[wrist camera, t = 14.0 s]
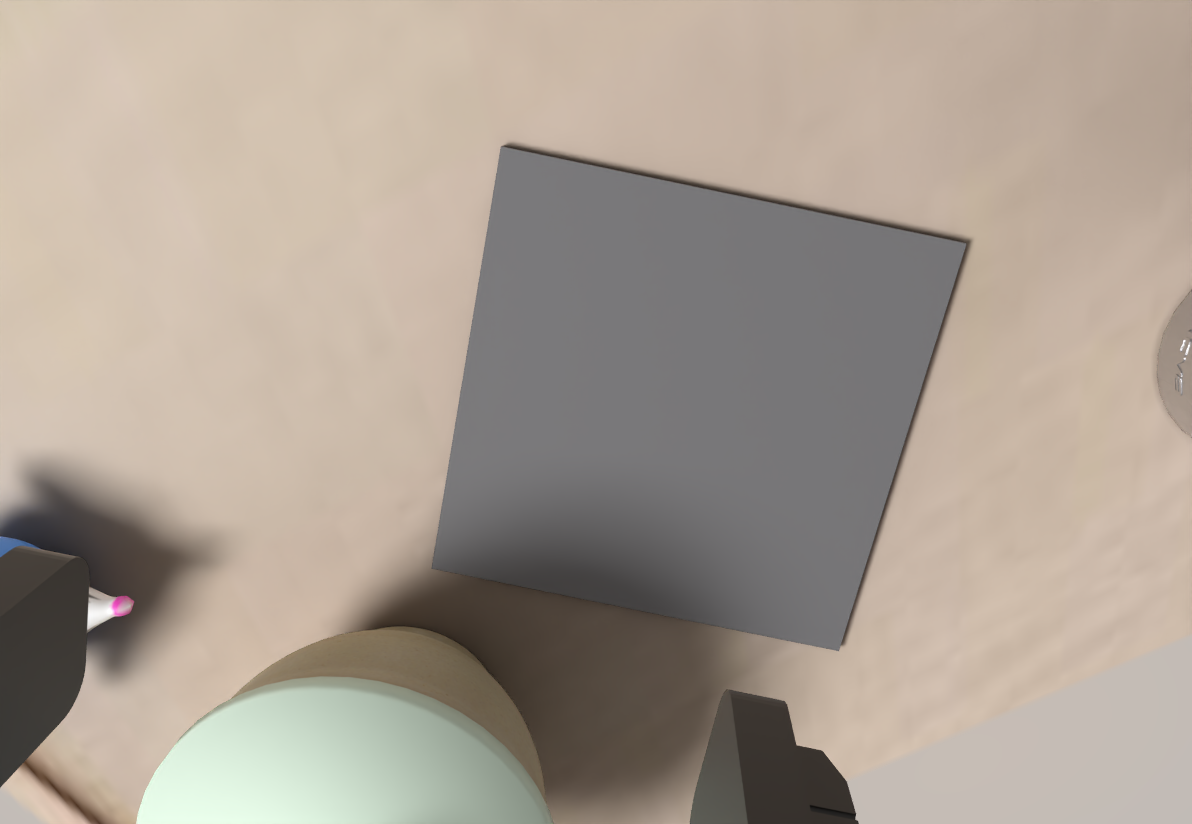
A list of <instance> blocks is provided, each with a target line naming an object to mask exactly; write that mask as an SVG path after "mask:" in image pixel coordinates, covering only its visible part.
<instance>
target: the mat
mask: <svg viewBox="0 0 1192 824" xmlns="http://www.w3.org/2000/svg"><path fill="white" fill-rule="evenodd" d="M965 247H966V243H964V242H960V241H955V240H950V239H946V238H941V237H936V236H931V235H926V234H922V233H917V232H912V231H907V230H902V229H898V228H893V227H888V226H883V225H878V224H874V223H869V222H864V221H859V220H854V219H850V218H845V217H840V216H835V215H830V214H826V213H821V212H816V211H811V210H807V209H802V208H797V207H792V206H787V205H783V204H778V203H773V202H768V201H763V200H759V199H754V198H749V197H744V196H739V195H735V194H730V193H725V192H720V191H715V190H711V189H706V188H701V187H696V186H691V185H687V184H682V183H677V182H672V181H667V180H663V179H658V178H653V177H648V176H643V175H639V174H634V173H629V172H624V171H619V170H615V169H610V168H605V167H600V166H595V165H591V164H586V163H581V162H576V161H571V160H567V159H562V158H557V157H552V156H547V155H543V154H538V153H533V152H528V151H524V150H519V149H514V148H509V147H504V146H501V149H500V155H499V162H498V168H497V174H496V180H495V186H494V192H493V198H492V204H491V210H490V216H489V222H488V229H487V235H486V241H485V247H484V253H483V259H482V265H481V271H480V277H479V283H478V289H477V296H476V302H475V308H474V314H473V320H472V326H471V332H470V338H469V344H468V350H467V356H466V363H465V369H464V375H463V381H462V387H461V393H460V399H459V405H458V411H457V417H456V423H455V430H454V436H453V442H452V448H451V454H450V460H449V466H448V472H447V478H446V484H445V490H444V496H443V503H442V509H441V515H440V521H439V527H438V533H437V539H436V545H435V551H434V557H433V563H432V569H437V570H442V571H446V572H451V573H456V574H461V575H466V576H471V577H476V578H481V579H486V580H491V581H496V582H501V583H506V584H511V585H515V586H520V587H525V588H530V589H535V590H540V591H545V592H550V593H555V594H560V595H565V596H570V597H575V598H580V599H585V600H589V601H594V602H599V603H604V604H609V605H614V606H619V607H624V608H629V609H634V610H639V611H644V612H649V613H654V614H658V615H663V616H668V617H673V618H678V619H683V620H688V621H693V622H698V623H703V624H708V625H713V626H718V627H723V628H727V629H732V630H737V631H742V632H747V633H752V634H757V635H762V636H767V637H772V638H777V639H782V640H787V641H792V642H797V643H801V644H806V645H811V646H816V647H821V648H826V649H831V650H836V651H839V649H840V646H841V642H842V639H843V636H844V633H845V630H846V627H847V623H848V620H849V617H850V614H851V611H852V607H853V604H854V601H855V598H856V595H857V591H858V588H859V585H860V582H861V579H862V576H863V572H864V569H865V566H866V563H867V560H868V556H869V553H870V550H871V547H872V544H873V540H874V537H875V534H876V531H877V528H878V525H879V521H880V518H881V515H882V512H883V509H884V505H885V502H886V499H887V496H888V493H889V490H890V486H891V483H892V480H893V477H894V474H895V470H896V467H897V464H898V461H899V458H900V454H901V451H902V448H903V445H904V442H905V439H906V435H907V432H908V429H909V426H910V423H911V419H912V416H913V413H914V410H915V407H916V403H917V400H918V397H919V394H920V391H921V388H922V384H923V381H924V378H925V375H926V372H927V368H928V365H929V362H930V359H931V356H932V352H933V349H934V346H935V343H936V340H937V337H938V333H939V330H940V327H941V324H942V321H943V317H944V314H945V311H946V308H947V305H948V301H949V298H950V295H951V292H952V289H953V286H954V282H955V279H956V276H957V273H958V270H959V266H960V263H961V260H962V257H963V254H964V250H965Z"/></svg>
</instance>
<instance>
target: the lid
mask: <svg viewBox="0 0 1192 824" xmlns="http://www.w3.org/2000/svg"><path fill="white" fill-rule="evenodd" d="M136 824H554V823H553V820H552V817H551V814H550V812H549V809H548V807H547V805H546V803H545V801H544V799H543V797H542V795H541V793H540V791H539V789H538V787H537V786H536V784H535V783H534V781H533V780H532V778H531V777H530V775H529V774H528V773H527V771H526V770H525V768H524V767H523V765H522V764H521V763H520V762H519V761H518V760H517V759H516V758H515V757H514V756H513V754H512V753H511V752H510V751H509V750H508V749H507V748H506V747H505V746H504V745H503V744H502V743H501V742H500V741H498V740H497V739H496V738H495V737H494V736H493V735H491V734H490V733H489V732H488V731H487V730H486V729H484V728H483V727H482V726H480V725H479V724H477V723H476V722H474V721H473V720H471V719H470V718H468V717H467V716H465V715H464V714H462V713H461V712H459V711H457V710H455V709H453V708H451V707H449V706H447V705H446V704H444V703H442V702H440V701H438V700H436V699H434V698H431V697H428V696H426V695H423V694H421V693H418V692H415V691H413V690H410V689H407V688H404V687H400V686H396V685H392V684H388V683H384V682H380V681H374V680H367V679H360V678H353V677H325V676H320V677H309V678H299V679H291V680H286V681H282V682H277V683H272V684H268V685H264V686H262V687H259V688H256V689H253V690H250V691H248V692H245V693H242V694H240V695H238V696H236V697H234V698H232V699H230V700H228V701H226V702H224V703H222V704H221V705H219V706H217V707H216V708H214V709H213V710H212V711H210V712H209V713H207V714H206V715H205V716H203V717H202V718H200V719H199V720H198V721H197V722H196V723H195V724H194V725H193V726H192V727H191V728H190V729H188V730H187V731H186V732H185V733H184V734H183V735H182V736H181V737H180V739H179V740H178V741H177V743H176V744H175V746H174V747H173V748H172V750H171V751H170V752H169V754H168V755H167V756H166V758H165V759H164V760H163V762H162V763H161V765H160V766H159V767H158V769H157V770H156V771H155V773H154V775H153V777H152V779H151V781H150V783H149V785H148V787H147V789H146V791H145V793H144V796H143V799H142V803H141V806H140V809H139V812H138V817H137V823H136Z"/></svg>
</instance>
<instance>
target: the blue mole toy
mask: <svg viewBox="0 0 1192 824" xmlns="http://www.w3.org/2000/svg"><path fill="white" fill-rule="evenodd" d="M17 546H27V547H32V548H37V549H40V548H38V547H36V546H34V545H32V544H30V543H27V542H24V541H21V540H18V539H13V538H8V537H1V536H0V557H2V556H3V555H4V554H6V553H7V552H8V551H10V550H11V549H13V548H15V547H17ZM133 604H134V601H133V600H132V599H130V598H129V597H128V596H119V597H112V596H109V595H106V594H104V593H102V592H100V591H97V590H95V589H93V588H91V587H89V602H88V623H87V632H89V631H90V630H92V629H93V628H95V627H96V626H98V625H99V624H101V623H103V622H105V621H107V620H108V619H110V618H112V617H114V616H124V615H127V614H130V612H131V610H132V607H133Z"/></svg>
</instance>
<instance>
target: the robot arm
mask: <svg viewBox="0 0 1192 824" xmlns="http://www.w3.org/2000/svg"><path fill="white" fill-rule="evenodd" d="M1157 379H1158V385H1159V390H1160V395H1161V398H1162V400H1163V402H1164V404H1165V407H1166V409H1167V411H1168V413H1169V415H1170V416H1171V417H1172V419H1173V420H1174V421H1175V422H1176V424H1177V425H1178V426H1179V427H1180V428H1181V430H1182V431H1184V432H1185V433H1187V434H1188V435H1189V436H1191V437H1192V291H1191V292H1190V293H1189V294H1188V295H1187V296H1186V298H1185V299H1184V300H1183V302H1182V303H1181V304H1180V305H1179V307H1178V308H1177V309H1176V311H1175V312H1174V314H1173V316H1172V318H1171V320H1170V322H1169V324H1168V326H1167V328H1166V330H1165V332H1164V334H1163V338H1162V342H1161V345H1160V349H1159V353H1158V364H1157ZM89 580H90V578H89V567H88V564H87V562H86V561H85V560H84V559H83V558H81V557H77V556H72V555H67V554H62V553H57V552H52V551H47V550H42V549H37V548H32V547H27V546H17V547H15V548H13V549H11V550H10V551H8V552H7V553H6V554H4V555H3V556H2V557H0V787H1V786H2V785H3V784H4V783H5V782H6V781H7V780H8V779H9V777H10V776H11V775H12V774H13V773H14V772H15V771H16V770H17V769H18V768H19V767H20V766H21V765H22V763H23V762H24V761H25V760H26V759H27V758H28V757H29V756H30V755H31V754H32V753H33V752H34V751H35V749H36V748H37V747H38V746H39V745H40V744H41V743H42V742H43V741H44V740H45V739H46V738H47V737H48V735H49V734H50V733H51V732H52V731H53V730H54V729H55V728H56V727H57V726H58V725H59V724H60V722H61V721H62V720H63V719H64V718H65V717H66V715H67V714H68V713H69V711H70V710H71V708H72V706H73V704H74V702H75V700H76V698H77V696H78V693H79V691H80V688H81V685H82V682H83V678H84V673H85V665H86V645H87V623H88V602H89ZM855 816H856V813H855V809H854V805H853V802H852V798H851V795H850V792H849V788H848V785H847V782H846V780H845V779H844V778H843V776H842V775H841V774H840V773H839V771H838V770H837V769H836V768H835V766H834V765H833V764H832V762H831V761H830V760H829V759H828V757H827V756H826V755H825V754H824V752H823V751H821V750H816V749H812V748H807V747H802V746H797V745H796V742H795V738H794V733H793V729H792V724H791V720H790V715H789V711H788V707H787V704H786V702H785V701H781V700H777V699H772V698H767V697H762V696H757V695H752V694H747V693H742V692H737V691H732V690H726V691H725V692H724V694H723V696H722V698H721V701H720V704H719V707H718V711H717V714H716V718H715V722H714V725H713V729H712V732H711V736H710V740H709V743H708V747H707V750H706V754H705V758H704V761H703V765H702V769H701V772H700V776H699V779H698V783H697V787H696V791H695V795H694V799H693V804H692V810H691V818H690V824H859V823H858V821H857V820H855Z"/></svg>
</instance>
